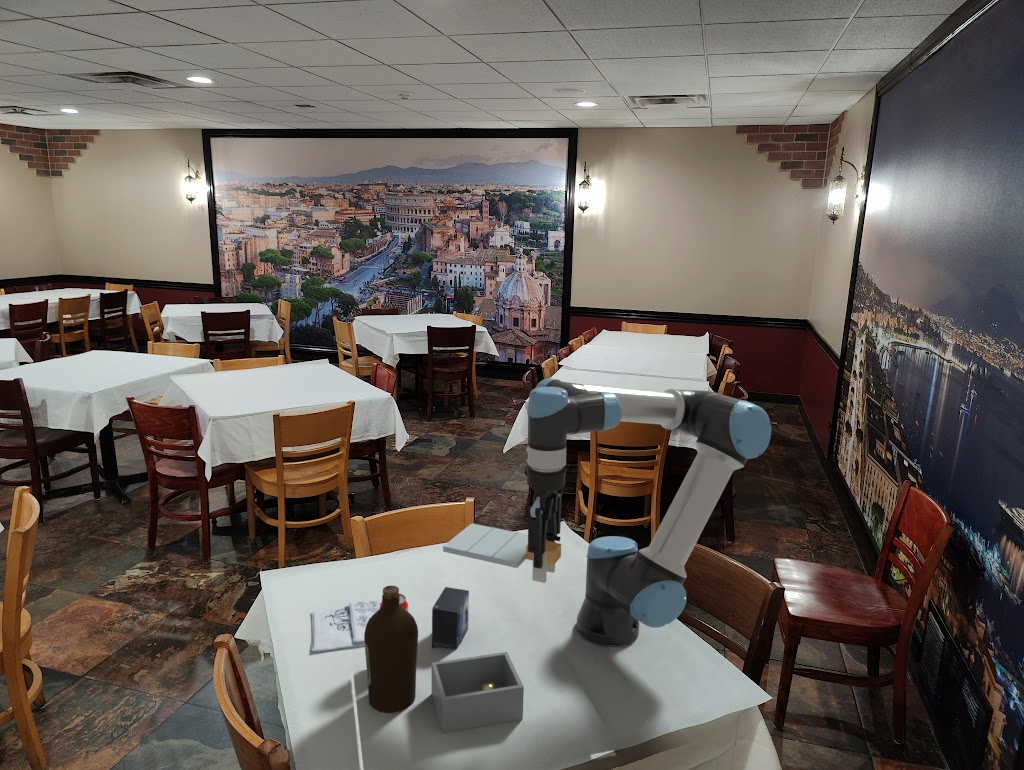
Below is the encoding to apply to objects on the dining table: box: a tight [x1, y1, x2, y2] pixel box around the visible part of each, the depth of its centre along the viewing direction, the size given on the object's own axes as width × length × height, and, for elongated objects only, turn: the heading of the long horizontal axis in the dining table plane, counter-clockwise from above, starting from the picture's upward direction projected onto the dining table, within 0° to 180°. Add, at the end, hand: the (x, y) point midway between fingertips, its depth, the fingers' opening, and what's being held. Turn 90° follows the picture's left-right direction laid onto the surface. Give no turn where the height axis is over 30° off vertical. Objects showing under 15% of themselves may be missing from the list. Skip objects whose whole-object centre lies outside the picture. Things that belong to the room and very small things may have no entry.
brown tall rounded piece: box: [364, 585, 419, 714], centre depth 140 cm, size 11×11×25 cm
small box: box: [430, 586, 470, 651], centre depth 164 cm, size 11×6×10 cm, turn 168°
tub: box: [431, 651, 525, 734], centre depth 140 cm, size 16×12×8 cm
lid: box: [442, 523, 562, 569], centre depth 144 cm, size 23×13×4 cm, turn 66°
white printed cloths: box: [309, 598, 382, 655], centre depth 169 cm, size 19×20×2 cm
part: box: [481, 680, 496, 691], centre depth 143 cm, size 3×3×3 cm
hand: (543, 575), depth 142 cm, fingers closed on lid, 4 cm apart
